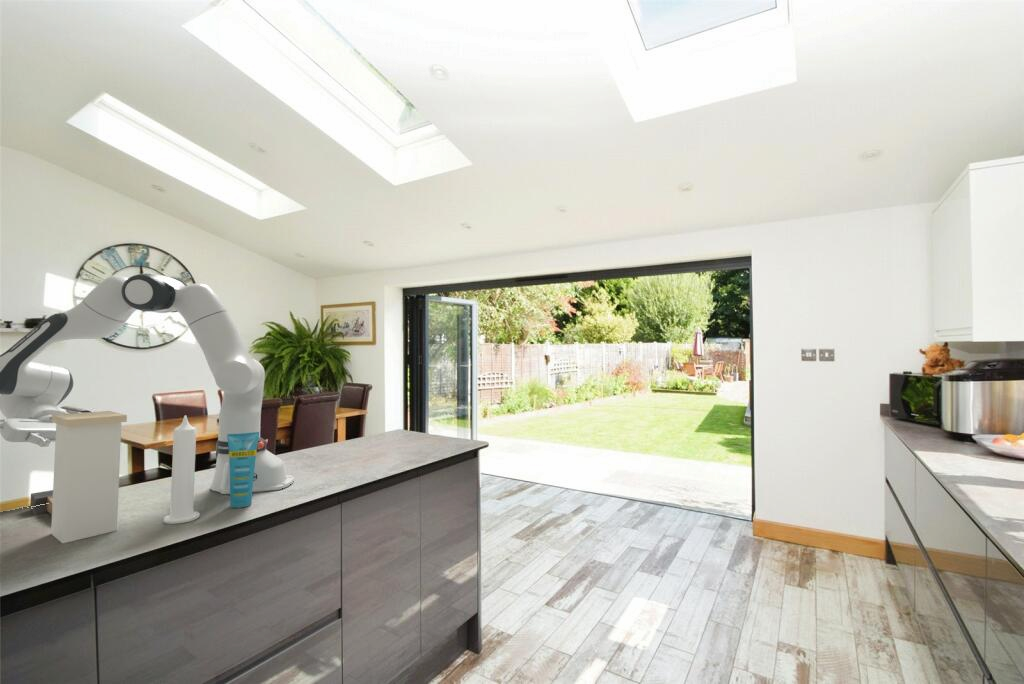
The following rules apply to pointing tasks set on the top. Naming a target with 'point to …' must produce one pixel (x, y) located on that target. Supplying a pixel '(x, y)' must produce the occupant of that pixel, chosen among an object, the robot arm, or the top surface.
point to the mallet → (42, 502)
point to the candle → (183, 475)
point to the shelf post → (86, 474)
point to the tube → (242, 467)
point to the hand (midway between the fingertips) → (68, 443)
